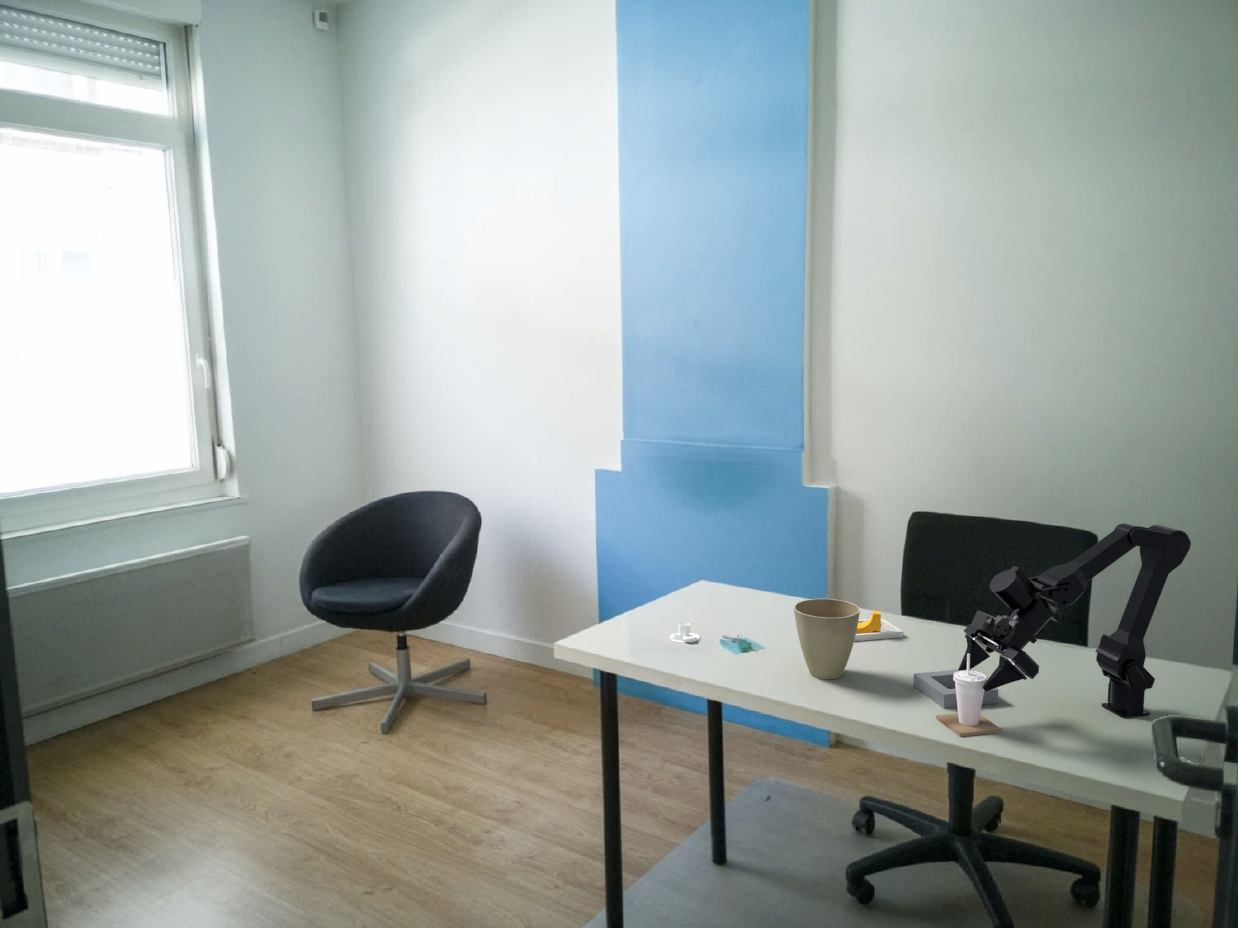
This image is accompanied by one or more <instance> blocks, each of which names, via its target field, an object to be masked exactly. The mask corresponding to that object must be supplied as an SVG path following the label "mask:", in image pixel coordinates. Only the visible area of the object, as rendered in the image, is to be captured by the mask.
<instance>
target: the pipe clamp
mask: <svg viewBox="0 0 1238 928" xmlns="http://www.w3.org/2000/svg"><path fill="white" fill-rule="evenodd" d="M881 618H882V614H881V611H877V610H876V611H875V610H872V611H871V616H870V618H868V619H869V620H868V621H864V622H862V623H858V626H857V631H856V634H863V633H875V632H881V629H882V626H881Z"/></svg>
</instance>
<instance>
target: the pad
mask: <svg viewBox="0 0 1238 928" xmlns="http://www.w3.org/2000/svg"><path fill="white" fill-rule="evenodd" d="M935 719H936V720H938V721H939V723H941V724H943V725H944V726H946V727H947V728H948V729H949V730H951V731H952V732H953V733H955V734H956V735H957V736H958V737H968V736H969V737H970V736H979V735H987V734H997V733H1003V729H1002V728H1001V727H999V726H998V725H997V724H995V723H994V722H992V721H991V720H989V719H988V718H986V717H985V716H983V714H981V713H980V718H979V724H978V725H975V726H968V725H964V724H961V723H960V722H959V717H958V712H957V713H947V714H938V715H935Z"/></svg>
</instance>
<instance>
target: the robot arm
mask: <svg viewBox="0 0 1238 928" xmlns="http://www.w3.org/2000/svg"><path fill="white" fill-rule="evenodd" d="M1191 545H1192V540H1191V539H1190V537H1189V535H1188V533H1186V532H1185V531H1183V530H1180V529H1176V528H1173V527H1168V526H1165V525H1161V524H1152V525H1150V526H1149V527H1145V526H1139V525H1133V524H1130V523H1126V522H1125V523H1119V524H1118V525H1116V526H1115V528H1114V530H1113V531H1111V532H1109V533H1108V534H1107V535H1106V536H1104V537H1103V538H1102V539H1100V540H1099V541H1097V542H1096V543H1094V544H1093V545H1092V546H1091V547H1089V548H1087V550H1085V551H1084V552H1083V553H1081V554H1080V555H1078V556H1076V558H1074V559H1073V560H1071V561H1069V562H1066V563H1062V564H1058V565H1054V566H1053V567H1051V568H1049V569H1047V570H1045V571H1043V572H1042V573H1040V574H1039V575H1037V576H1035V577H1029V578H1028V577H1027V575H1025V573H1024V572H1023V570H1022V569H1021V568H1020V567H1017V566H1015V565H1012V567H1010V569H1007V570H1002V571H1001V572H1000V573H998V574H996V575H994V576H993V578H992V579H991V581H990V583H989V589H990V590H991V592H992V593H994V594H995V596H997V597H998V599H999V600H1000V601H1001V602H1003V603H1004V604H1005V606H1007V608H1008V609H1010V610H1014V611H1013V612H1012V614H1011V615H1010V616H1008V615H1007V614H1005V615H1002V616H1001V615H997V616H996V617H995V616H993V615H992V614H991V615H990V614H988V613H985V612H983V611H981V610H978V609H977V611H976V613H975V614H974V617H973V619H972V622H971V623H969V624H968V625H967V626H966V627H965V629H964V630H963V632H964V638H965V639H966V644H967V647H966V650H965V651H964V655H963V658H962V660H961V663H960V664H959V667H958V671H962V670H967V654H970V671H972V669H973V668H975V667H977V666H978V665H980V664H981V663H983V662H984V661H986V660H987V659H988V658H990V657H991V655H990V654H992V653H994V652H995V653H997V654H999V658H998V659H999V660H998V665H997V667H996V668H995V669H994V671H993V672H992V673H991V674H990V676H989V677H987V681H986V682H985V684H984V685H983V687H982V688H983V689H984V690H985V691H989V690H992V689H995V688H997V689H998V688H1000V687H1002V686H1005V685H1008V684H1011V683H1013V682H1018V681H1021V680H1024V681H1026V680H1027V679H1028V678H1029V679H1031V680H1034V678H1035V677H1036V676H1037V675H1038V674H1039V673H1040V665H1039V664H1038V663H1037V662H1036V661H1035V660H1034V659H1033V658H1032V657H1031V656H1030V655H1029V654H1028V653H1027V652H1025V650H1023V649H1025V647H1026V646H1027V645H1028V644H1029V643H1032V644H1033V645H1035V643H1036V642H1037V641H1038V639H1037V638H1036V637H1035V636H1036V635H1037V634H1038V633H1039V632H1040V630H1042V628H1043V627H1044V626H1045V625H1046V624H1047V623H1048V622H1049V621H1050V620H1052V621H1054V622H1056V623H1058V624H1061V623H1062V616H1061V610H1062V609H1061V608H1058V607H1056V606H1054V605H1053V606H1052V605H1051V604H1050V603H1049V602H1048V601H1050V602H1053V603H1055V604H1056V605H1060V606H1065V607H1066V606H1070V605H1072V604H1074V603H1075V602H1076V601H1077V600H1078V599H1079V598H1080V597H1081V596H1082V595H1083V594H1084V593H1085V592H1086V590H1087V587H1088V585H1089V583H1090V581H1091V580H1092V579H1093V578H1095V577H1096V576H1097V575H1099V574H1100V573H1102V572H1104V570H1106V569H1107V568H1108V567H1110V566H1112V565H1113V564H1114V563H1115V562H1116V561H1117V562H1118V560H1119V559H1121V558H1122V557H1123V556H1124V555H1126V554H1128V553H1129V552H1130V551H1131V550H1133V549H1134V548H1136V547H1139V555H1140V561H1141V566H1140V569H1139V572H1138V574H1137V577H1136V580H1135V582H1134V585H1133V586H1132V587H1133V588H1132V590H1131V593H1130V596H1129V598H1128V601H1127V604H1126V605H1125V609H1124V610H1123V614H1122V617H1121V618H1120V621H1119V624H1118V626H1117V629H1116V630H1115V631H1113V632H1112V633H1111V634H1110V635H1107V634H1105V633H1103V634H1102V636H1101V637H1100V641H1099V645H1098V647H1097V648H1096V649H1095V651H1094V652H1095V653H1096V658H1095V662H1097V665H1098V666H1099V668H1100V669H1101V672H1102V675H1103V676H1104V677H1107V678H1109V683H1108V686H1107V702H1103V703H1101V707H1103V708H1104V709H1106V710H1107V711H1110V712H1111V713H1114V714H1116V715H1118V716H1119V717H1121V718H1131V717H1132V718H1133V717H1142V716H1150V715H1151V712H1150V711H1149V710H1147V709H1145V708H1144V707H1145V692H1146V690H1148V689H1150V690H1151V689H1152V688H1153V686H1154V683H1155V681H1156V678H1155V677H1154V676H1153V675H1152V674H1151V673H1150V672H1149V670H1147V669H1146V668H1145V667H1144V666H1145V663H1146V658H1147V654H1146V647H1145V643H1144V641H1145V640H1144V639H1145V636H1146V634H1147V631H1148V629H1149V626H1150V623H1151V621H1152V618H1153V615H1154V613H1155V611H1156V608H1157V605H1158V602H1159V600H1160V597H1161V595H1162V592H1163V590H1164V586H1165V584H1166V581H1167V579H1168V576H1169V575H1170V573H1171V572H1173V571H1174V570H1176V568H1178V567H1179V566H1180V565H1181V564H1182V563H1183V562H1184V560H1185V558H1186V557H1187V555H1188V553H1189V551H1190V549H1191ZM1036 595H1038V596H1040V597H1042V598H1038V597H1037V596H1036Z"/></svg>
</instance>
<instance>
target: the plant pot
mask: <svg viewBox="0 0 1238 928" xmlns="http://www.w3.org/2000/svg"><path fill="white" fill-rule="evenodd" d="M793 612H794V618H795V620H794V621H795V626H796V631H797V637H798V640H799V644H800V648H801V651H802V654H803V658H804V661H805V663H806V666H807V669H808V672H809V674H810V675H811V676H813V677H814V678H817V679H821V680H836V679H839V678H841V677H842V676H843V674H844V672H845V669H846V667H847V665H848V662H849V659H850V655H851V653H852V650H853V646H854V643H855V641H854V640H855V636H856V631H857V626H858V620H860V613H861V608H860V607H859V606H858V605H856V604H855V603H853V602H849V601H845V600H840V599H835V598H811V599H805V600H801V601H797V602H796V603H795V604H794V605H793Z"/></svg>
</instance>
